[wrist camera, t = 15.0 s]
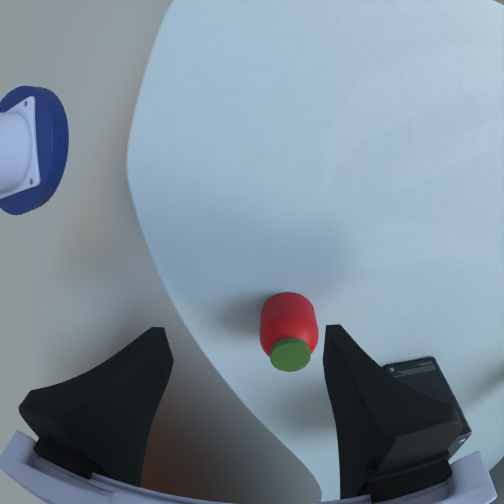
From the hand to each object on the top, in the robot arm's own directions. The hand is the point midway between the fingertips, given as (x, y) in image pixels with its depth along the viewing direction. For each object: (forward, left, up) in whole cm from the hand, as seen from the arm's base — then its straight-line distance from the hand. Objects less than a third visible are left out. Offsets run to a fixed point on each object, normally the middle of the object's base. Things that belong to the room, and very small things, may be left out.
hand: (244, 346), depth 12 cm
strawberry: (+2, -5, -9) cm, 11 cm away
